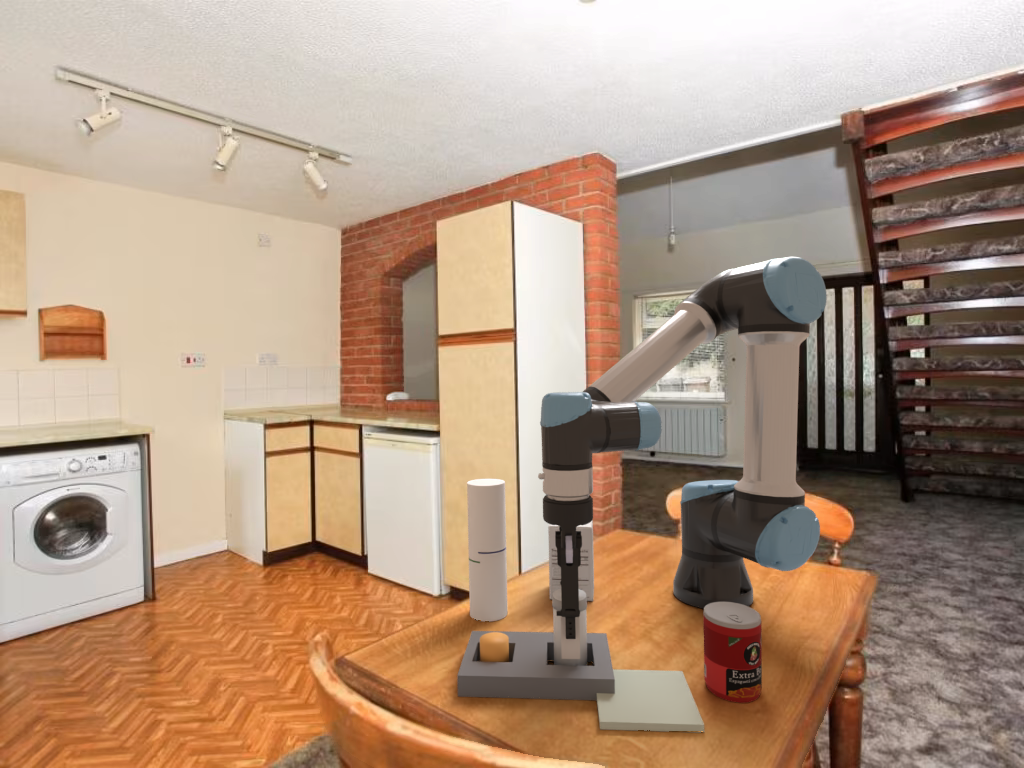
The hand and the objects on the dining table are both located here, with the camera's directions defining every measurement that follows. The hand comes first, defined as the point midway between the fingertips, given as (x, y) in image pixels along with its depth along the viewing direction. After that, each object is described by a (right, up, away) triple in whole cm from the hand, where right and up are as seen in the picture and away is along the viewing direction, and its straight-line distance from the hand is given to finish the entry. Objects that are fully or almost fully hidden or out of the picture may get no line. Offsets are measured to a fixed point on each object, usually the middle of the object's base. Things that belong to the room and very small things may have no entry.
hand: (570, 647), depth 87 cm
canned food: (+23, -4, -5) cm, 23 cm away
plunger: (-11, -3, +1) cm, 12 cm away
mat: (+9, -4, -8) cm, 13 cm away
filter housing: (-5, -4, 0) cm, 6 cm away
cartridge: (0, -4, 0) cm, 4 cm away
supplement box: (+4, -3, +32) cm, 32 cm away
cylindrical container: (-13, -4, +22) cm, 26 cm away
